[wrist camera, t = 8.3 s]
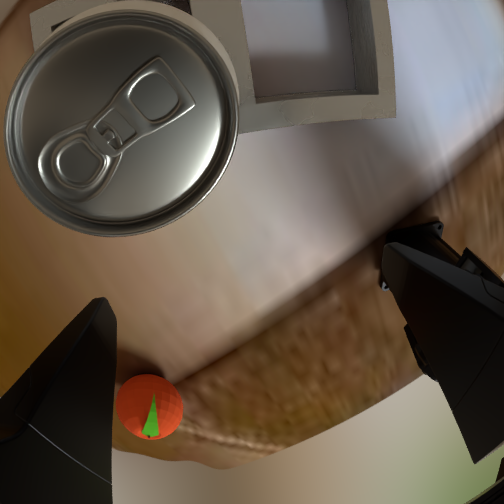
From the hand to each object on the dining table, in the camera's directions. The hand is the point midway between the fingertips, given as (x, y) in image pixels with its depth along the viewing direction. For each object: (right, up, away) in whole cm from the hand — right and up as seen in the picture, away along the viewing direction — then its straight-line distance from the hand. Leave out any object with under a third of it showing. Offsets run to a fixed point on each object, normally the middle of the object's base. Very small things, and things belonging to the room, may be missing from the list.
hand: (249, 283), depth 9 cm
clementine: (-11, -12, +21) cm, 27 cm away
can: (-6, +11, +5) cm, 14 cm away
